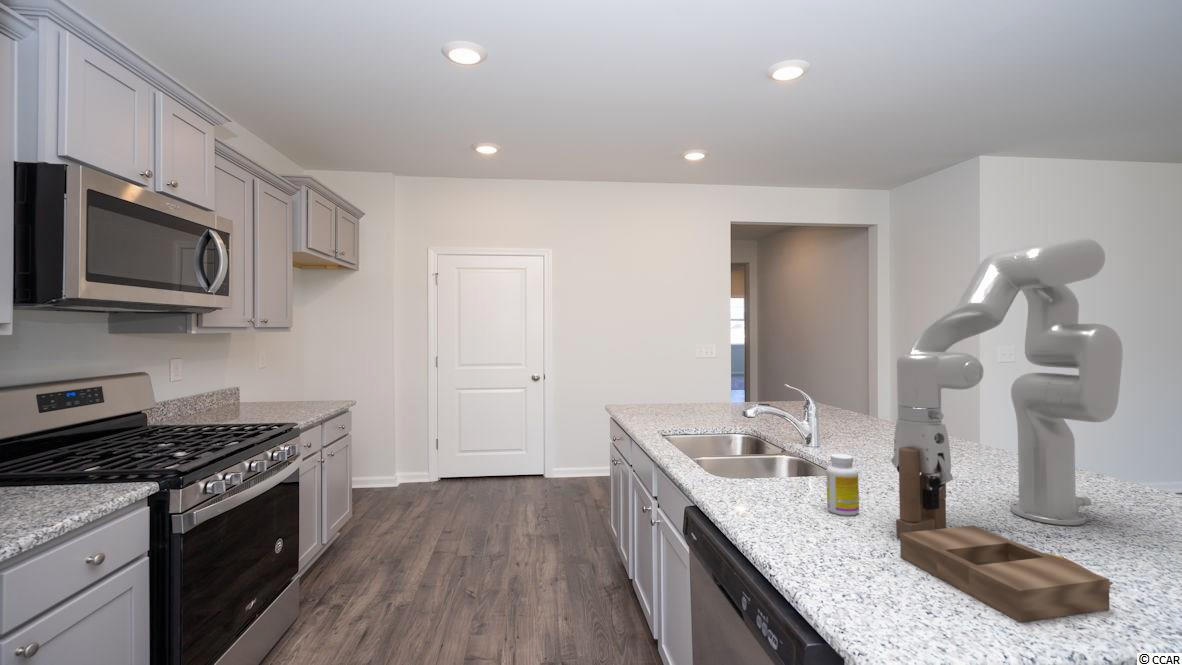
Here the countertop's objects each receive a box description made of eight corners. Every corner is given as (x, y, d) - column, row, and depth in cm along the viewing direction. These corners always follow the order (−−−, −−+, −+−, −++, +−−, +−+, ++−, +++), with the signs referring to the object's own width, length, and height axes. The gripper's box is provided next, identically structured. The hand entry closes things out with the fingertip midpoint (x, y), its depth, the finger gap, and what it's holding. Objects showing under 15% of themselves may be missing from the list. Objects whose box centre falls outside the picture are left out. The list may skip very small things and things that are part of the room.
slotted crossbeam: (974, 549, 99) (973, 525, 99) (1109, 609, 77) (1109, 578, 77) (900, 557, 96) (900, 533, 96) (1020, 622, 74) (1019, 590, 74)
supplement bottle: (866, 514, 118) (864, 457, 118) (843, 518, 116) (842, 460, 116) (842, 505, 125) (841, 451, 125) (820, 508, 122) (819, 454, 122)
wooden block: (947, 533, 106) (945, 445, 106) (913, 543, 102) (911, 451, 102) (928, 527, 110) (927, 442, 110) (895, 536, 105) (894, 447, 105)
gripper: (972, 420, 98) (974, 517, 98) (903, 408, 115) (904, 491, 115) (938, 422, 97) (940, 520, 97) (873, 409, 113) (874, 493, 113)
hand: (920, 503), depth 106 cm, fingers closed on wooden block, 4 cm apart
